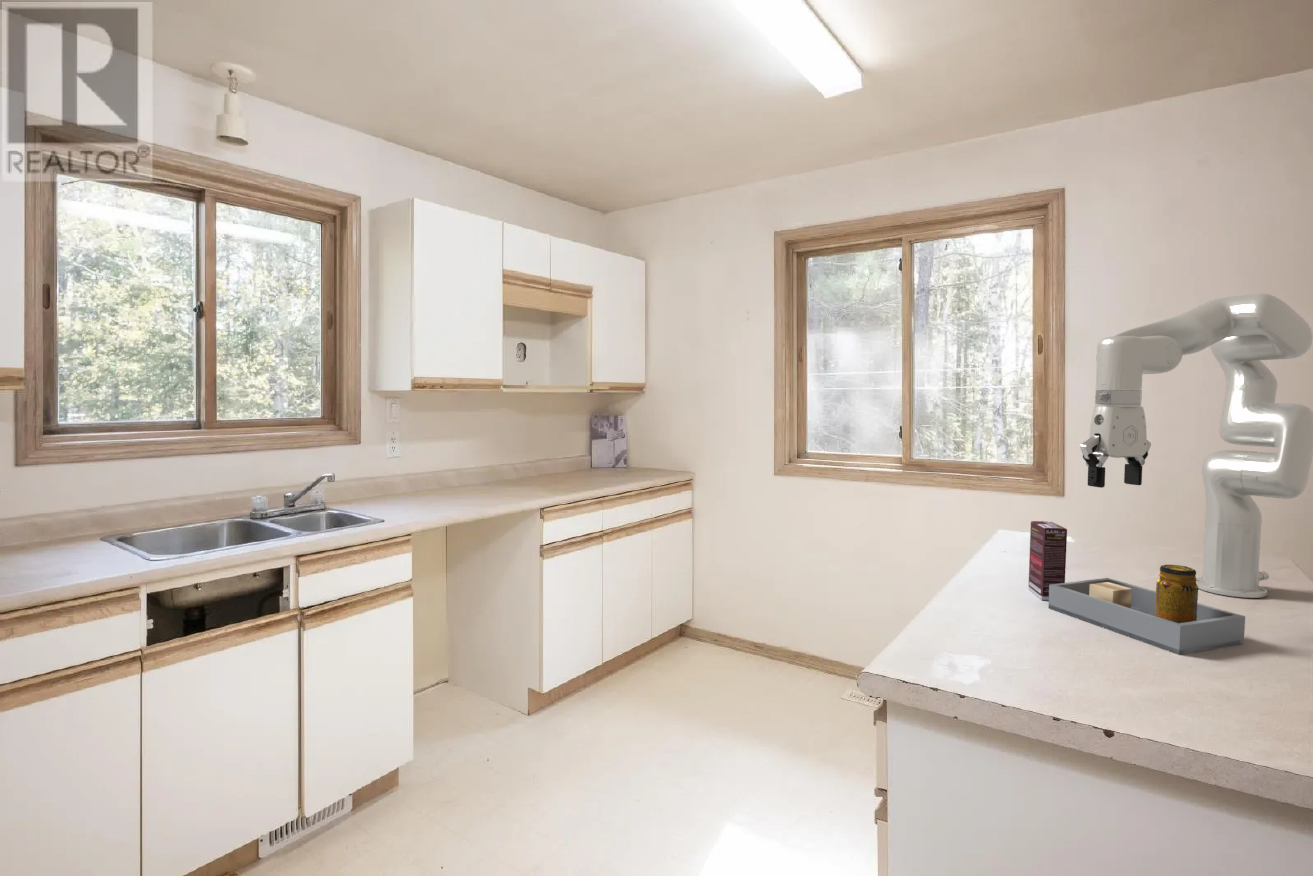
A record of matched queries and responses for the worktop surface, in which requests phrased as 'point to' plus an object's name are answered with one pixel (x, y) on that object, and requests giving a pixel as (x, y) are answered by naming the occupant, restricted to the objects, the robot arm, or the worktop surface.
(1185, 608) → the condiment
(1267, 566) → the worktop surface
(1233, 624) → the tote
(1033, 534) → the supplement box
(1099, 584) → the cube
